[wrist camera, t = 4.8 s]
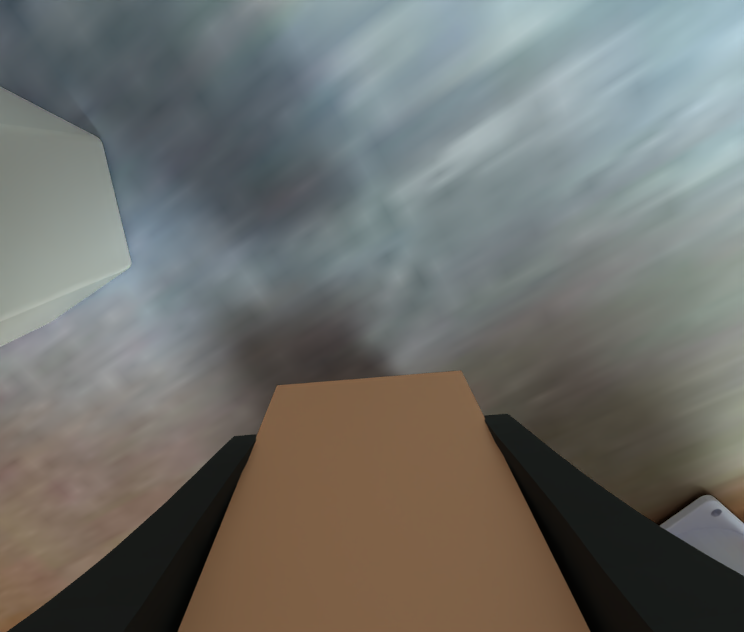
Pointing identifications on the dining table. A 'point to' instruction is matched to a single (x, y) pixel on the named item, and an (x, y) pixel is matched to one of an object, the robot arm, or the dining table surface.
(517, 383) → the dining table surface
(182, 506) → the robot arm
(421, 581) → the domino
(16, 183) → the jar
